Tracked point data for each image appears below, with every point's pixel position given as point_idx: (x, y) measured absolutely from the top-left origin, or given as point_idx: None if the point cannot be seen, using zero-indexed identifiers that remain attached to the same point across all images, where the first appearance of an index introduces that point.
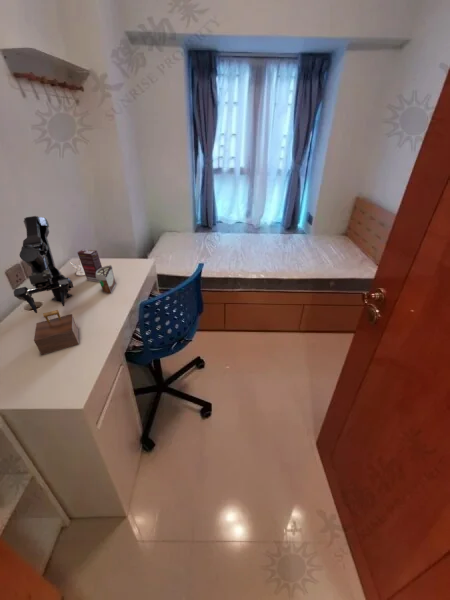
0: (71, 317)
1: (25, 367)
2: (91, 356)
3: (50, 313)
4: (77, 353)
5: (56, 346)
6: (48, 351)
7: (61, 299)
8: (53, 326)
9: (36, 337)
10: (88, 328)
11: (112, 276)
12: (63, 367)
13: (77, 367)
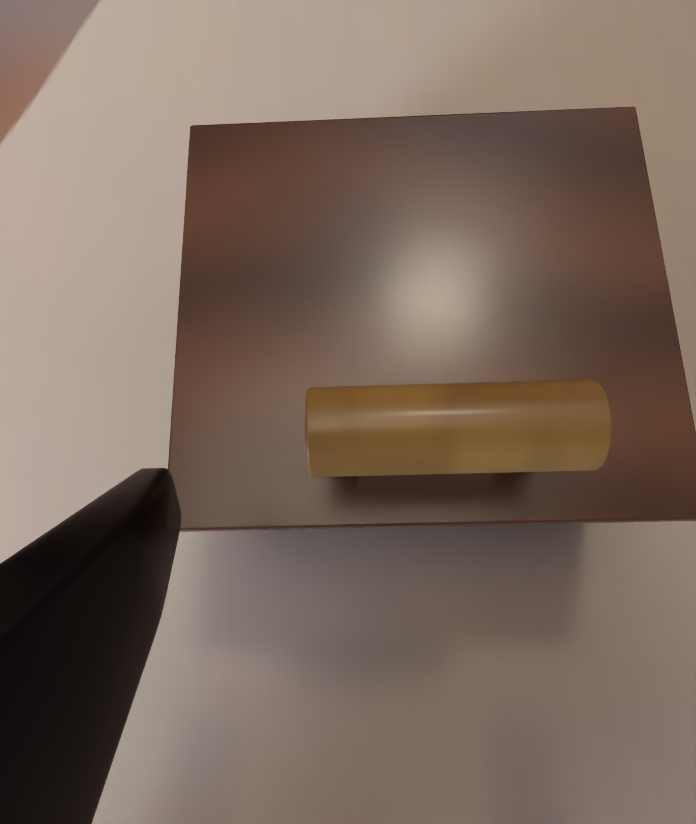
0: (179, 417)
1: (656, 152)
2: (163, 74)
3: (456, 387)
4: None
5: None
6: None
7: (73, 564)
8: (428, 298)
9: (616, 152)
10: (132, 466)
11: None
12: (363, 45)
13: (268, 10)
